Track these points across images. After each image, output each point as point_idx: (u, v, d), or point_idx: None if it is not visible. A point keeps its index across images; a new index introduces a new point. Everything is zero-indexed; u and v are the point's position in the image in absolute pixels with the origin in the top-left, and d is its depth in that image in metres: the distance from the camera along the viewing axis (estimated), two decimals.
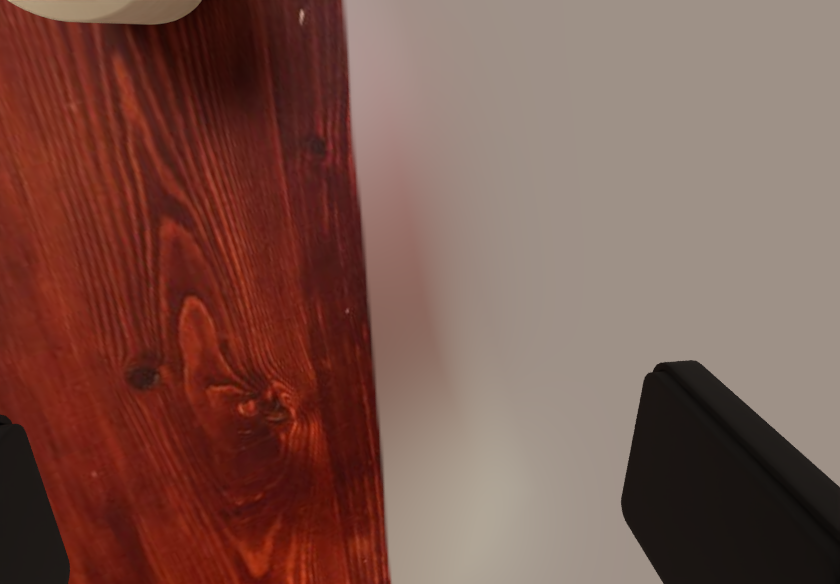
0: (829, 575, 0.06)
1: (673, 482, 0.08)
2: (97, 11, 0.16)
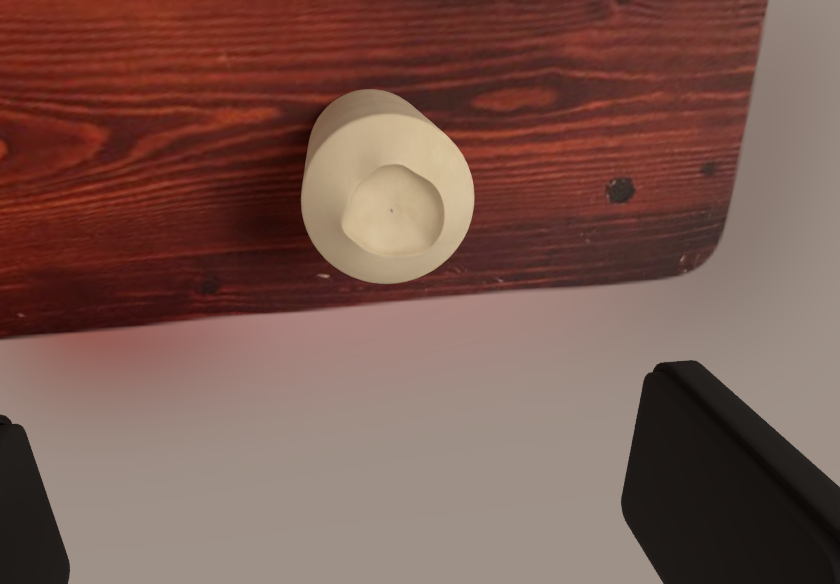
0: (829, 575, 0.06)
1: (673, 482, 0.08)
2: (311, 229, 0.18)
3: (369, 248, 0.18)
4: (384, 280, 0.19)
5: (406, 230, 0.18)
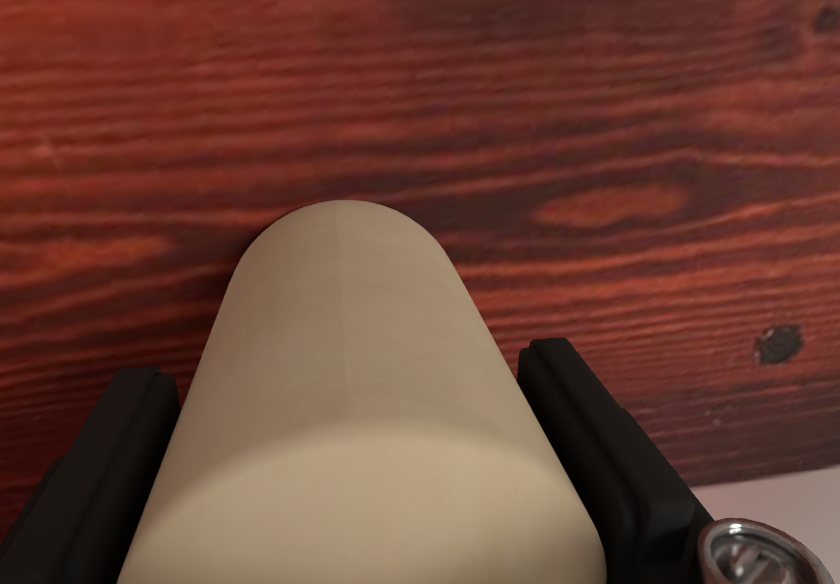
0: (620, 519, 0.06)
1: None
2: None
3: None
4: None
5: None
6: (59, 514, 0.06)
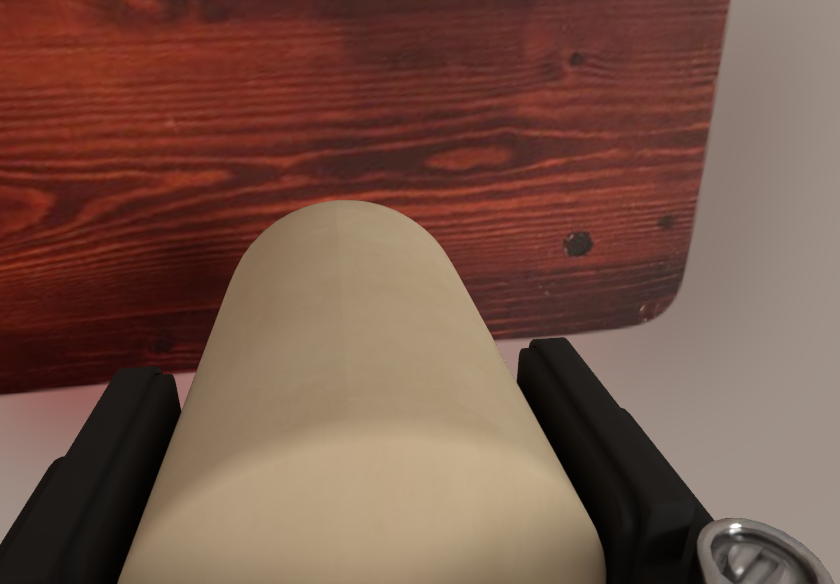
0: (620, 519, 0.06)
1: None
2: None
3: None
4: None
5: None
6: (59, 514, 0.06)
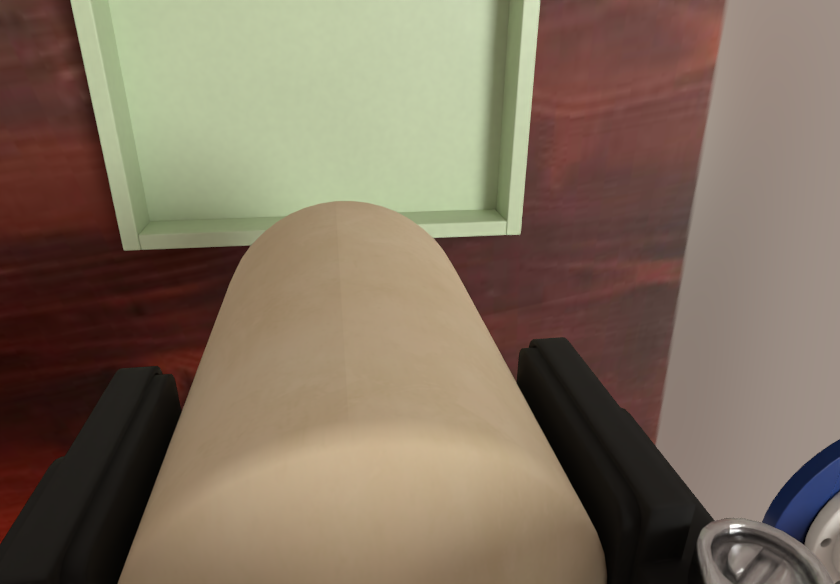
0: (620, 518, 0.06)
1: None
2: None
3: None
4: None
5: None
6: (59, 514, 0.06)
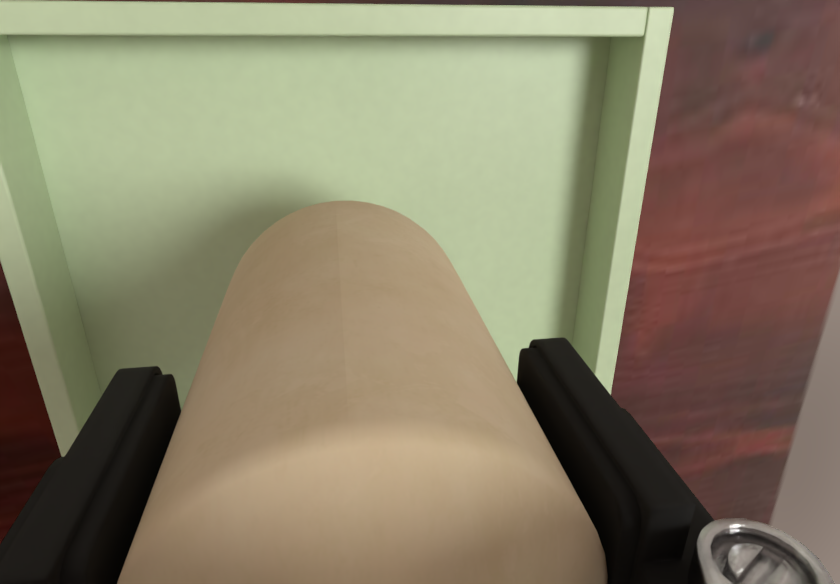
0: (620, 519, 0.06)
1: None
2: None
3: None
4: None
5: None
6: (59, 514, 0.06)
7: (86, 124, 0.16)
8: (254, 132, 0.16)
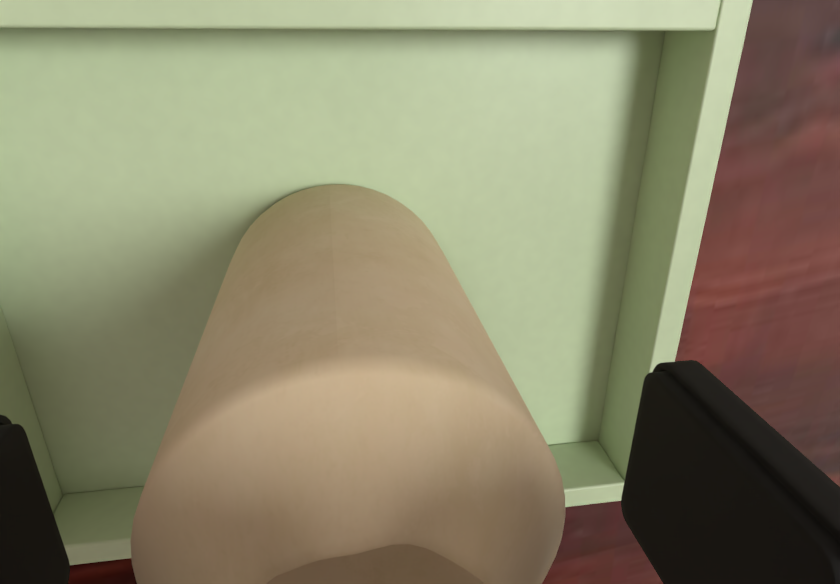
0: (829, 575, 0.06)
1: (673, 482, 0.08)
2: None
3: None
4: None
5: None
6: None
7: (18, 139, 0.13)
8: (229, 148, 0.13)
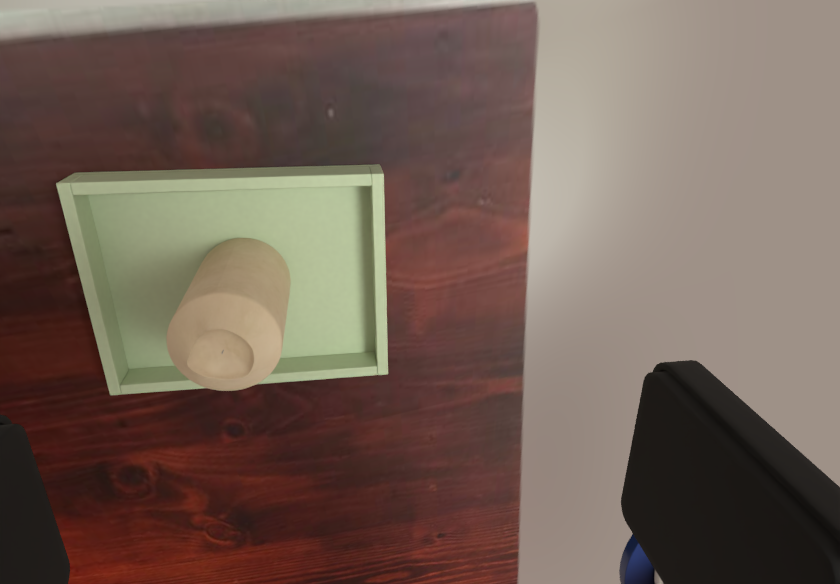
0: (829, 575, 0.06)
1: (673, 482, 0.08)
2: (174, 361, 0.29)
3: (208, 375, 0.28)
4: (226, 389, 0.30)
5: (234, 362, 0.29)
6: None
7: (120, 223, 0.34)
8: (198, 224, 0.35)
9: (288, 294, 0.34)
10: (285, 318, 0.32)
